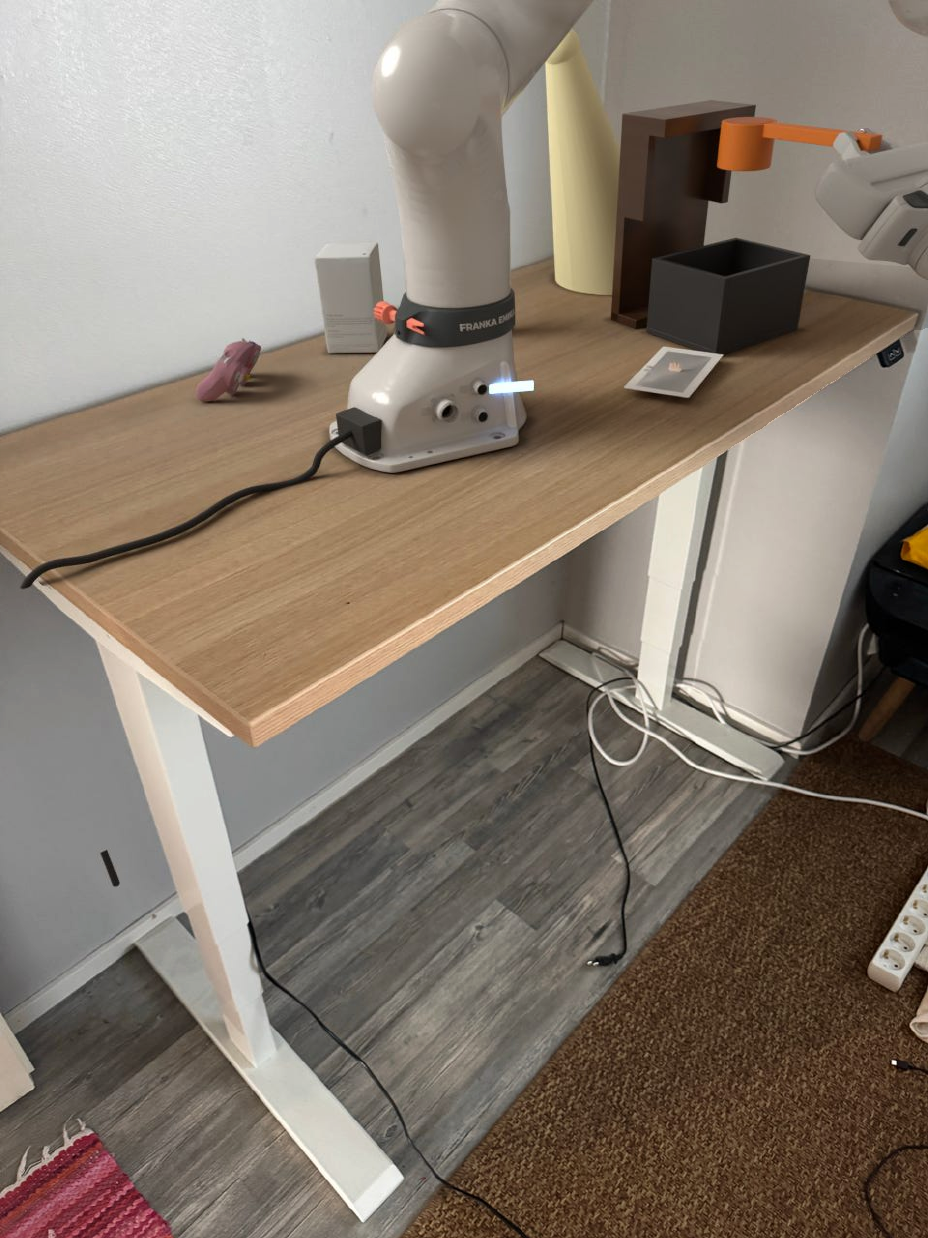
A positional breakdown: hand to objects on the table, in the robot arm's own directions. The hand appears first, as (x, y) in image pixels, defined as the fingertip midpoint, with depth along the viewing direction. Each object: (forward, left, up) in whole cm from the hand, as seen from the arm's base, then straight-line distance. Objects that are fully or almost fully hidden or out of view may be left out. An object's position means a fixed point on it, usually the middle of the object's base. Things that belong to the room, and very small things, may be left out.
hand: (850, 134), depth 100 cm
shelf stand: (0, +24, -25) cm, 35 cm away
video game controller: (-61, +39, -26) cm, 77 cm away
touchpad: (-17, +6, -26) cm, 31 cm away
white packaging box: (-41, +43, -25) cm, 65 cm away
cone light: (+3, +43, -25) cm, 50 cm away
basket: (0, +14, -25) cm, 29 cm away
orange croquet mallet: (0, +7, -5) cm, 8 cm away
